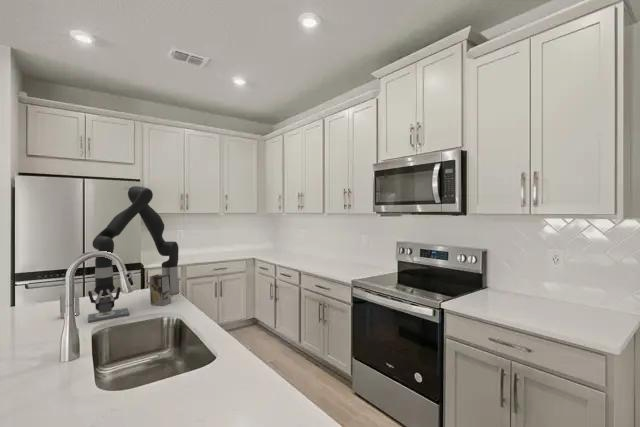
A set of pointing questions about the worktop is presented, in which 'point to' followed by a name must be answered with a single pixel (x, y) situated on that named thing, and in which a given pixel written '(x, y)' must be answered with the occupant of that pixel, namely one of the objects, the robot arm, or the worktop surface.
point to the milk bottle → (62, 301)
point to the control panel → (108, 315)
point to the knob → (105, 304)
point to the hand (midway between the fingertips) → (105, 309)
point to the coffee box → (160, 290)
